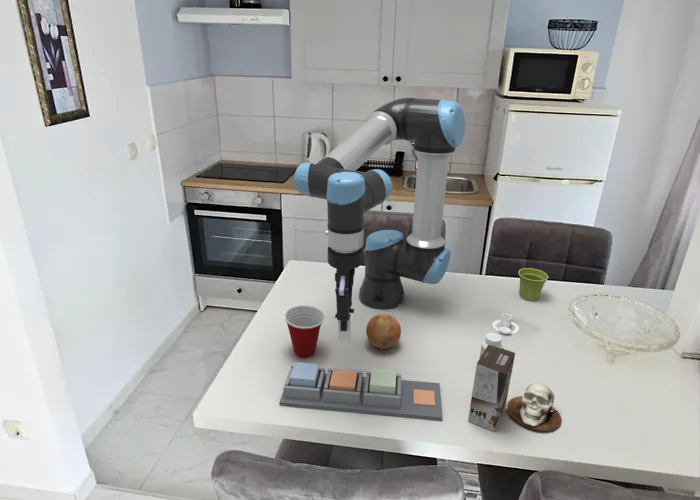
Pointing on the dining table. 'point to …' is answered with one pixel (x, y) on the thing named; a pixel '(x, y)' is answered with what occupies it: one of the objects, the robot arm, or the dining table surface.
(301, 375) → the button slate
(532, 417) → the skull
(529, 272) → the plant pot
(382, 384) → the button sage
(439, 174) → the robot arm
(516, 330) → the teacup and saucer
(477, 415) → the coffee box
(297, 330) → the plastic cup
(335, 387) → the button terracotta
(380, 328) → the onion
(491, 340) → the supplement bottle
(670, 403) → the dining table surface
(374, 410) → the console
